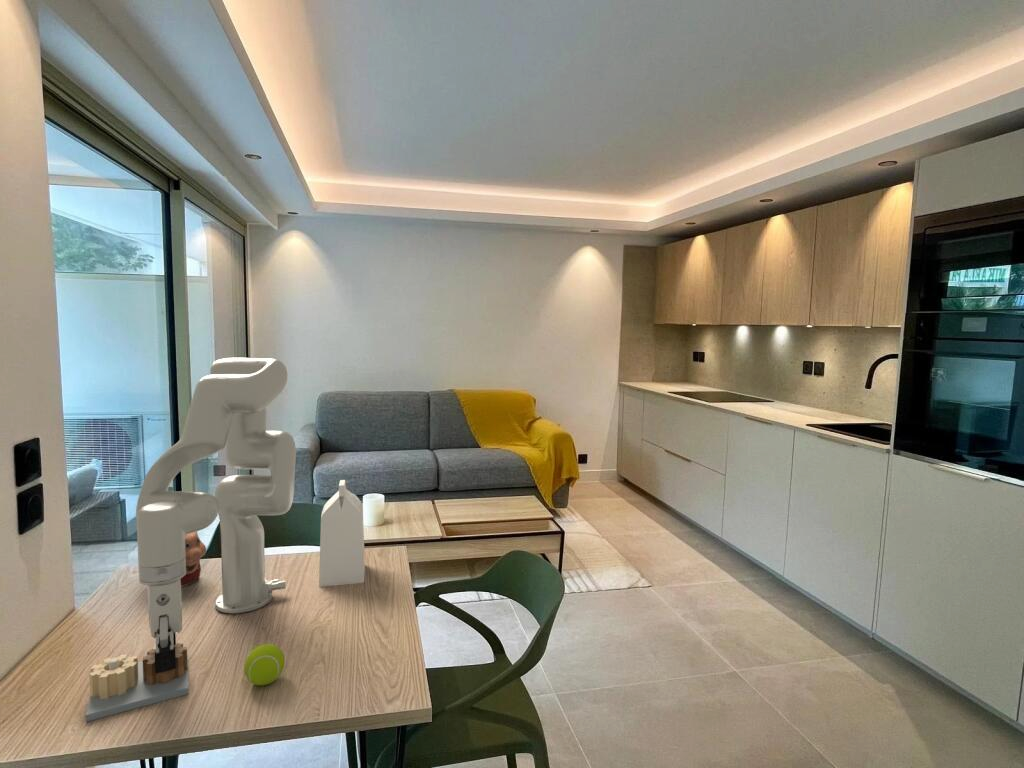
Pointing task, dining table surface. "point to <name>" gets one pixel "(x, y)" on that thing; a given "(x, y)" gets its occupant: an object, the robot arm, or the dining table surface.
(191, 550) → the decorative planter
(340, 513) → the milk
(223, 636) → the dining table surface
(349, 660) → the dining table surface
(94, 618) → the dining table surface
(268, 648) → the tennis ball
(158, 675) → the walnut gear
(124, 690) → the gear board
